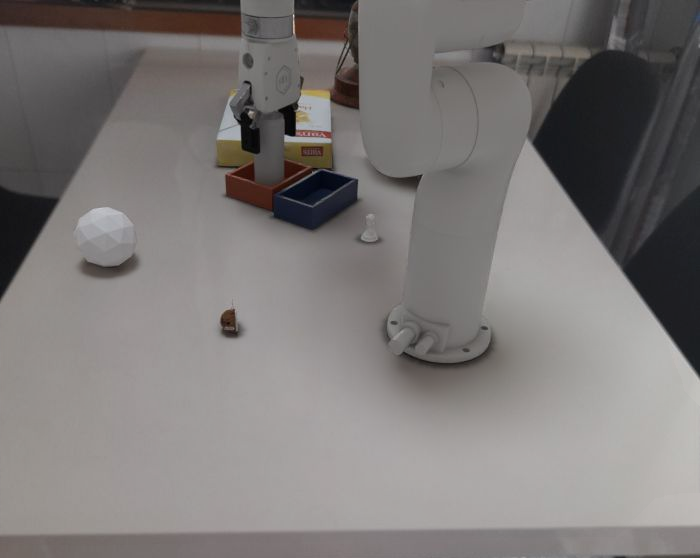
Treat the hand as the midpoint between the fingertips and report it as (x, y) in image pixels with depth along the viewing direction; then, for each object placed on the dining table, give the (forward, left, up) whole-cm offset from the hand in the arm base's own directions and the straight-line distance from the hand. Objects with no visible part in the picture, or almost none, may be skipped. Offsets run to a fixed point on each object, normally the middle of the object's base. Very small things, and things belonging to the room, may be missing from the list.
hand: (269, 142), depth 113 cm
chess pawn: (-4, -21, -8) cm, 23 cm away
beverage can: (0, 0, -8) cm, 8 cm away
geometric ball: (-31, +4, -8) cm, 33 cm away
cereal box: (+20, +13, -8) cm, 25 cm away
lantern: (+55, +13, -8) cm, 57 cm away
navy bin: (0, -9, -8) cm, 12 cm away
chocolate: (-34, -19, -8) cm, 40 cm away
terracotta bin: (0, 0, -8) cm, 8 cm away
